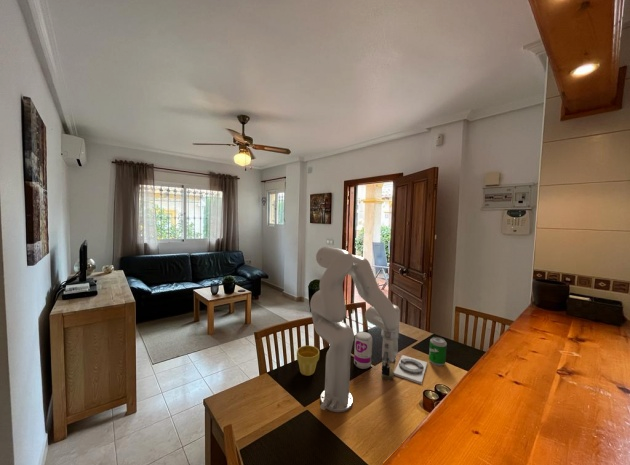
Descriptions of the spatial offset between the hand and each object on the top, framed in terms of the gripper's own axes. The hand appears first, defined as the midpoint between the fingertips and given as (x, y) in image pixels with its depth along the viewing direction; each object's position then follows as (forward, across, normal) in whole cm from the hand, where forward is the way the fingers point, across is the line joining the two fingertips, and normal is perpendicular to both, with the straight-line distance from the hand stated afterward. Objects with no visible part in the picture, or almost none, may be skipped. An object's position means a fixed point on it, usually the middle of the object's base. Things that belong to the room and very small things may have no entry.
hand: (388, 368), depth 119 cm
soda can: (+4, +24, -18) cm, 31 cm away
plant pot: (+3, -17, +33) cm, 37 cm away
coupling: (+4, 0, 0) cm, 4 cm away
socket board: (+4, +12, -8) cm, 14 cm away
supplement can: (+4, +2, +13) cm, 14 cm away
